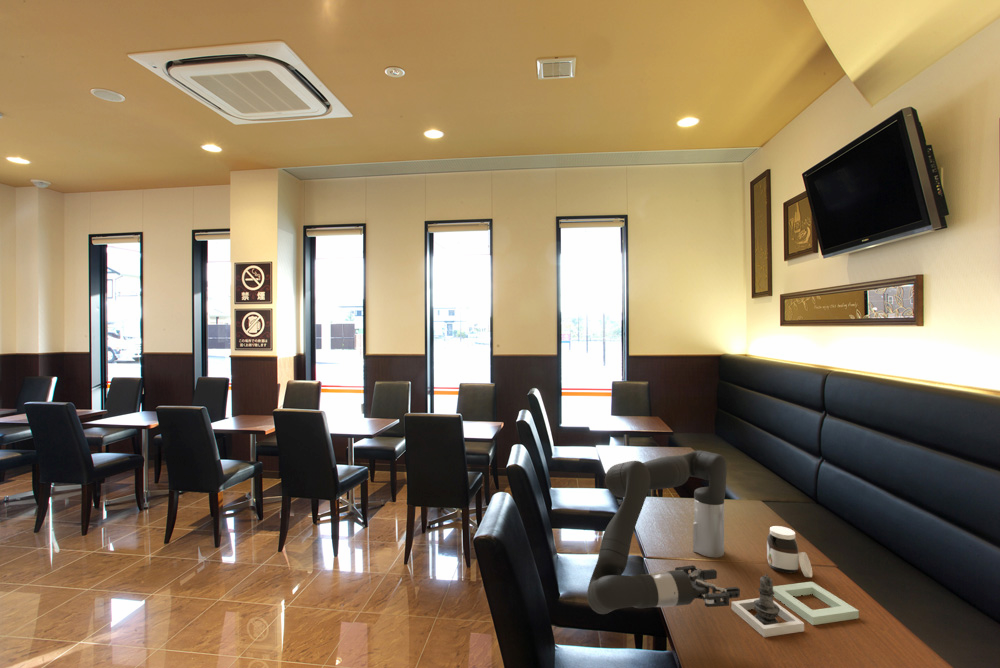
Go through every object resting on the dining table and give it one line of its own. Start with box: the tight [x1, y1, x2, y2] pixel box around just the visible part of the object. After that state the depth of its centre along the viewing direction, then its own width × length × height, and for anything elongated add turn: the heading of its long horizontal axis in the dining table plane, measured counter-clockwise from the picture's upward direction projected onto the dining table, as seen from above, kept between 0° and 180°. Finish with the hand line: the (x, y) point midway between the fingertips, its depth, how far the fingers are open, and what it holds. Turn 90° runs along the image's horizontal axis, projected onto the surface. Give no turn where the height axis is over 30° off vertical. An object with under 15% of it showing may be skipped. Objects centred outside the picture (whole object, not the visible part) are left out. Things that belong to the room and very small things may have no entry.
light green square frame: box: [773, 581, 860, 626], centre depth 124 cm, size 14×14×2 cm
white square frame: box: [730, 597, 805, 638], centre depth 118 cm, size 11×11×2 cm
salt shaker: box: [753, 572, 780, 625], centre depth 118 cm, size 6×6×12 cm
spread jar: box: [766, 525, 813, 578], centre depth 142 cm, size 12×11×12 cm
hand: (726, 582), depth 115 cm, fingers open, 8 cm apart
